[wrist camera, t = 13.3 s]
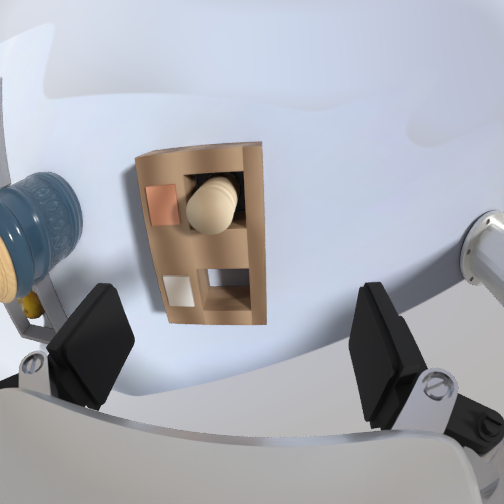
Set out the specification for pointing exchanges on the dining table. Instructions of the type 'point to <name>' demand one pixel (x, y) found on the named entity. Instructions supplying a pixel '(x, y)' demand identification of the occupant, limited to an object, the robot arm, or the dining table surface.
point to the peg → (214, 203)
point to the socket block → (203, 245)
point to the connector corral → (3, 149)
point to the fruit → (31, 305)
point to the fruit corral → (51, 309)
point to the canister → (35, 231)
